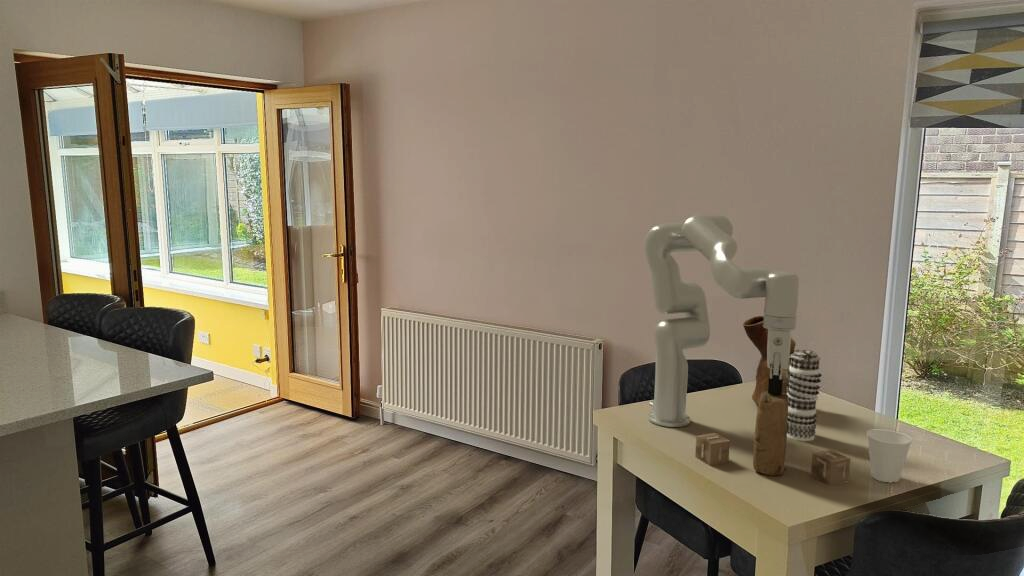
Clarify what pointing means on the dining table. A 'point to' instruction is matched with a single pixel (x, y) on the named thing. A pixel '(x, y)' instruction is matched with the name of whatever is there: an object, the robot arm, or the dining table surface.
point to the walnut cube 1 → (712, 449)
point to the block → (771, 434)
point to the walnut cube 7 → (830, 467)
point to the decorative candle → (802, 394)
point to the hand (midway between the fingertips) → (774, 393)
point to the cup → (887, 454)
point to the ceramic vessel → (763, 355)
